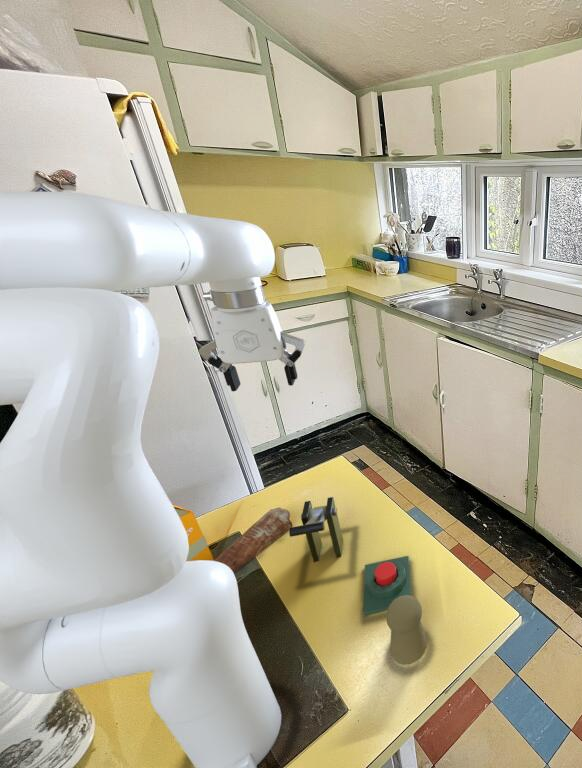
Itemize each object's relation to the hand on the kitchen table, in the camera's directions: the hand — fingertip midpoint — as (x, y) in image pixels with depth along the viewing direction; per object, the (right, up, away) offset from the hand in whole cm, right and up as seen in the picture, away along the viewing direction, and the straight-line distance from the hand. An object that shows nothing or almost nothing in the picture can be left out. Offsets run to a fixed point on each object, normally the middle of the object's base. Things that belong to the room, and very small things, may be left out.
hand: (264, 385), depth 79 cm
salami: (-4, -34, +1) cm, 35 cm away
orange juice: (-14, -36, -2) cm, 39 cm away
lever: (+13, -25, -7) cm, 29 cm away
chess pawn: (+31, -43, -13) cm, 55 cm away
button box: (+25, -38, -4) cm, 45 cm away
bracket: (+12, -34, +2) cm, 36 cm away
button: (+25, -34, -6) cm, 43 cm away
